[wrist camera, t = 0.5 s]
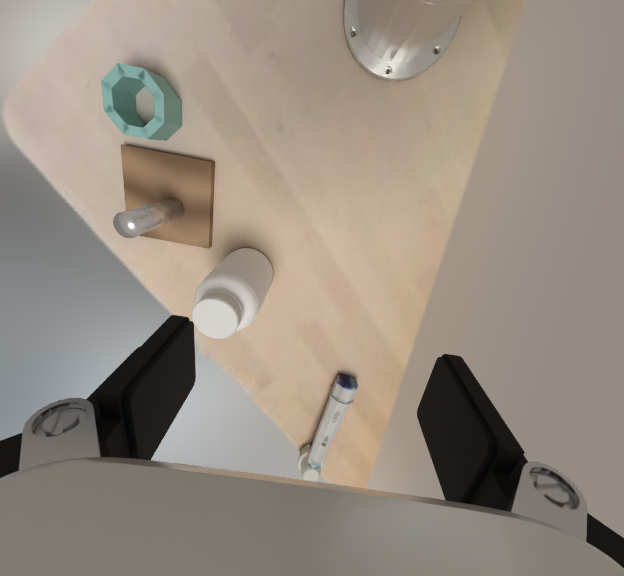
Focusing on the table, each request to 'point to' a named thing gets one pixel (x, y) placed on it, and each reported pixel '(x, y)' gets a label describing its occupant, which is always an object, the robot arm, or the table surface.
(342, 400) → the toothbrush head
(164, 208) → the grey metal peg
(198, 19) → the table surface
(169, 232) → the board
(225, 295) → the pill bottle
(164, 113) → the ring
